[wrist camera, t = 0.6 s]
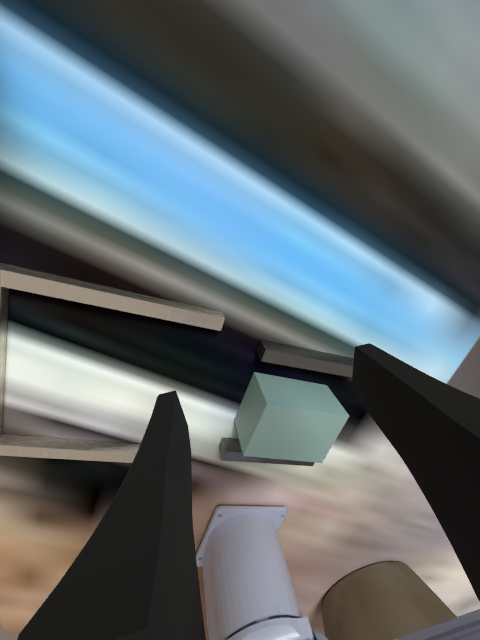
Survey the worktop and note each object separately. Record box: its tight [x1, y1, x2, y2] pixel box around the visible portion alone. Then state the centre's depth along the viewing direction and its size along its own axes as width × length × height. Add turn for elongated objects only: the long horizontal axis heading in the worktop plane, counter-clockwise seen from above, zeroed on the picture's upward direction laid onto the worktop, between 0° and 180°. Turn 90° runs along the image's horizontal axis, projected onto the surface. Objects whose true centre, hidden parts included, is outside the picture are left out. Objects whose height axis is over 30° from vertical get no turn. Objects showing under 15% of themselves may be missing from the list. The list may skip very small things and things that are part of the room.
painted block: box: [234, 372, 349, 463], centre depth 25 cm, size 5×7×4 cm
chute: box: [0, 263, 354, 466], centre depth 23 cm, size 14×26×2 cm, turn 71°
